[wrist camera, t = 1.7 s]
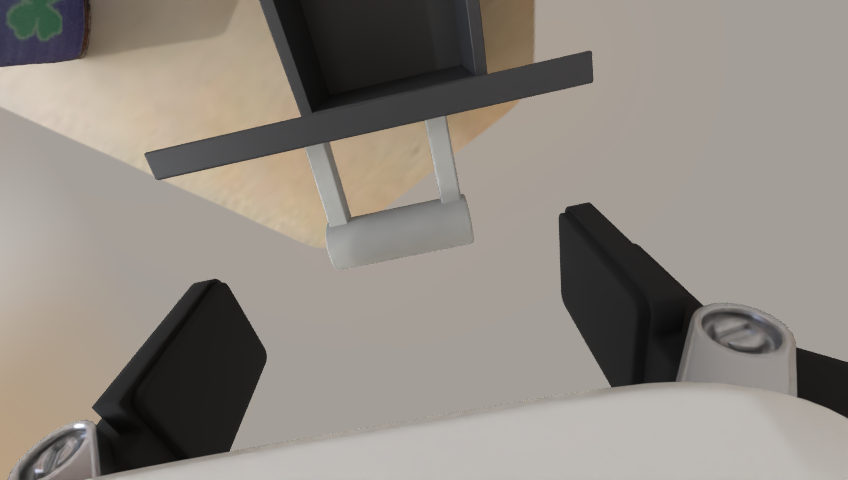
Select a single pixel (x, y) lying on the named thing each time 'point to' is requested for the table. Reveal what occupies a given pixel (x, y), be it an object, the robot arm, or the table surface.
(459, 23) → the dark grey hinged box
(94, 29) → the table surface
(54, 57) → the flask
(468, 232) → the lid
